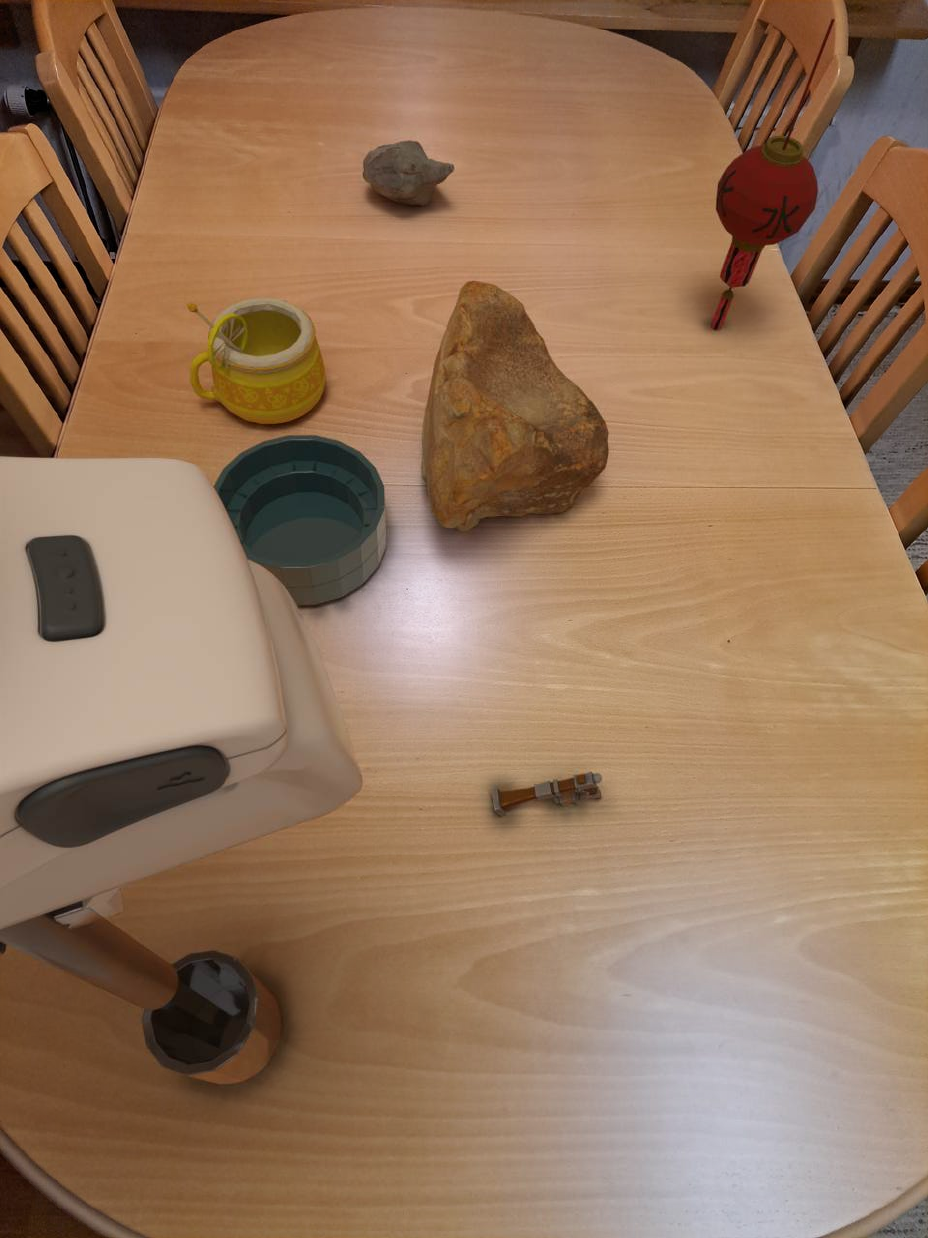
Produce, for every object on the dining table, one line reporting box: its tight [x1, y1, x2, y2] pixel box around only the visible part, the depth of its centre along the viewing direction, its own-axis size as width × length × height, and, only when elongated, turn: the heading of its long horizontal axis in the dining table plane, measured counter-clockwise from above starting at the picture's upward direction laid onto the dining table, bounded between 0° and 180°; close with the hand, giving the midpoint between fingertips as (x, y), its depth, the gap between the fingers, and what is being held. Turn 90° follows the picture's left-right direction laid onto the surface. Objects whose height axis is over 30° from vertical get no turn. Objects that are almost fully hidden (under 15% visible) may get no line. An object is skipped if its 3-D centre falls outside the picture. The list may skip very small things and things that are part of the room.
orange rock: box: [420, 280, 610, 533], centre depth 73 cm, size 23×17×15 cm
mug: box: [186, 297, 327, 425], centre depth 77 cm, size 13×11×12 cm
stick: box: [0, 911, 178, 1010], centre depth 29 cm, size 2×2×18 cm
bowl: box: [213, 434, 387, 606], centre depth 71 cm, size 14×14×6 cm
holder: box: [141, 949, 283, 1085], centre depth 48 cm, size 6×6×10 cm
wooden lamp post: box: [491, 770, 603, 818], centre depth 61 cm, size 2×8×4 cm, turn 96°
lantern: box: [710, 18, 836, 331], centre depth 79 cm, size 10×10×30 cm
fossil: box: [362, 139, 455, 207], centre depth 98 cm, size 11×9×8 cm
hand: (39, 915), depth 25 cm, fingers closed on stick, 2 cm apart
